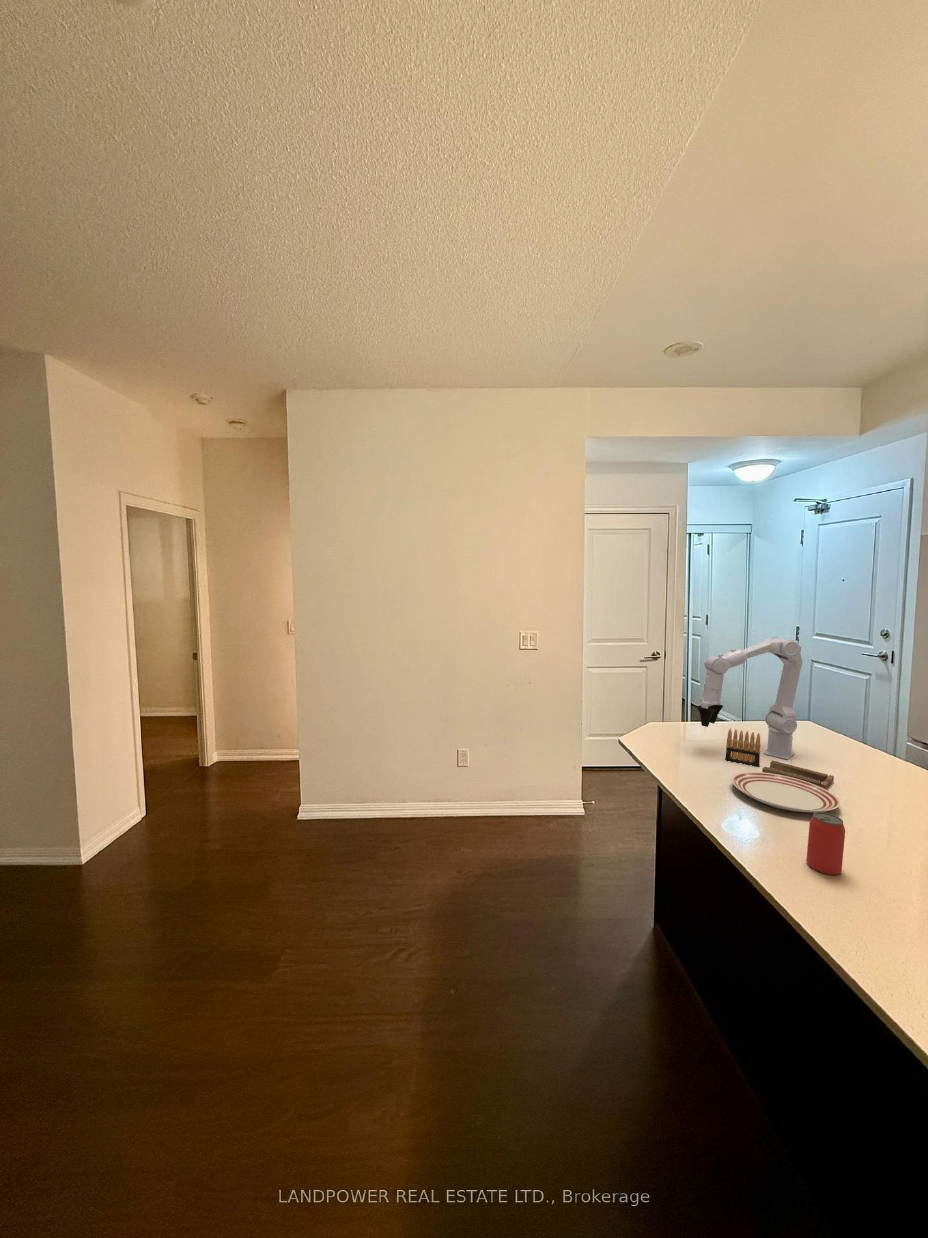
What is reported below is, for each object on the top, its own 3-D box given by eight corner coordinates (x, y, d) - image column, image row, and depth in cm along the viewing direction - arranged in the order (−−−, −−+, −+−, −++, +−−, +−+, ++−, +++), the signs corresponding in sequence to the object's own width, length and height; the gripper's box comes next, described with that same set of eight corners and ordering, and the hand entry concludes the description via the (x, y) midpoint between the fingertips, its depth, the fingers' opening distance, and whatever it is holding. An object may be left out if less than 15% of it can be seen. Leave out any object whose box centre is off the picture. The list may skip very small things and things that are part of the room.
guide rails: (772, 765, 173) (772, 760, 173) (833, 782, 160) (833, 776, 160) (762, 774, 166) (762, 768, 165) (825, 791, 153) (825, 785, 152)
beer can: (799, 859, 115) (803, 811, 114) (825, 859, 116) (829, 810, 115) (821, 877, 109) (826, 825, 108) (849, 876, 109) (854, 824, 108)
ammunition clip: (759, 765, 173) (761, 732, 172) (759, 767, 172) (761, 734, 171) (725, 759, 179) (727, 727, 178) (724, 761, 177) (727, 728, 176)
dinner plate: (746, 773, 167) (746, 763, 167) (846, 800, 148) (847, 789, 147) (718, 797, 148) (718, 786, 148) (829, 832, 128) (830, 820, 128)
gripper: (708, 684, 189) (703, 718, 191) (695, 688, 179) (690, 724, 180) (727, 688, 185) (722, 723, 186) (715, 692, 174) (710, 730, 175)
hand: (708, 724), depth 183 cm, fingers open, 7 cm apart
